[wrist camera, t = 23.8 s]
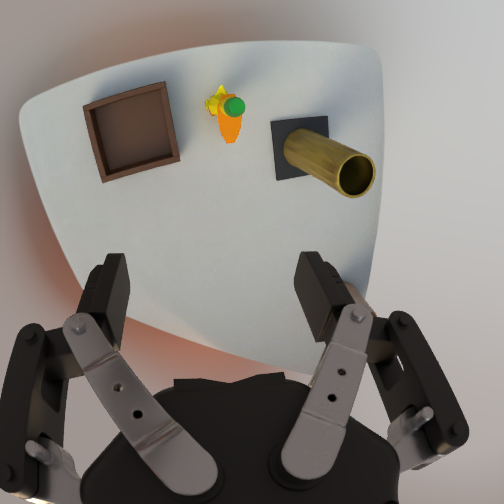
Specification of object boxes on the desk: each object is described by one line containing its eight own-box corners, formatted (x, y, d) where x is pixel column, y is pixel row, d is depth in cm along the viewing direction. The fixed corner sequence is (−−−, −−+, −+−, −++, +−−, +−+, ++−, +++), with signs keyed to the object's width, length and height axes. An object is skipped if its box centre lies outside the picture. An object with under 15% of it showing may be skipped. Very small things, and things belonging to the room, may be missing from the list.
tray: (88, 105, 29) (82, 106, 27) (165, 82, 31) (165, 81, 29) (106, 177, 35) (102, 183, 33) (179, 156, 37) (180, 161, 35)
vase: (281, 129, 38) (333, 151, 27) (319, 126, 39) (380, 147, 28) (283, 169, 42) (332, 206, 30) (320, 164, 43) (376, 198, 31)
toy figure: (230, 131, 37) (255, 147, 27) (204, 134, 36) (219, 150, 27) (228, 84, 34) (254, 81, 24) (201, 86, 33) (216, 82, 23)
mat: (270, 121, 38) (271, 122, 37) (326, 115, 39) (327, 116, 39) (276, 179, 43) (277, 180, 42) (328, 170, 44) (329, 171, 44)
